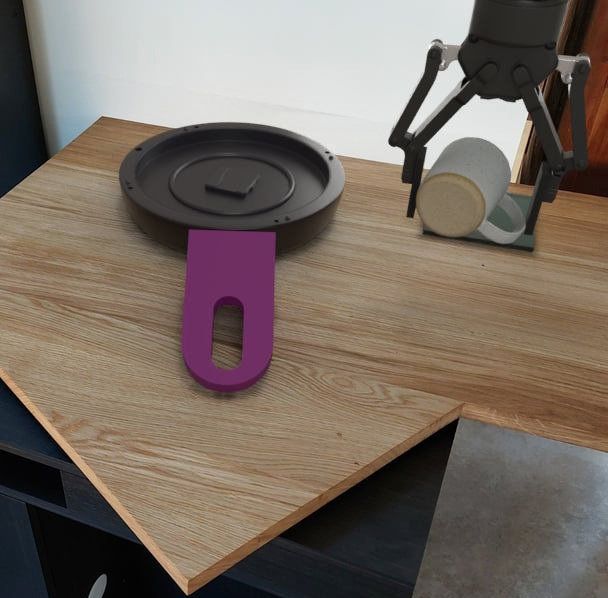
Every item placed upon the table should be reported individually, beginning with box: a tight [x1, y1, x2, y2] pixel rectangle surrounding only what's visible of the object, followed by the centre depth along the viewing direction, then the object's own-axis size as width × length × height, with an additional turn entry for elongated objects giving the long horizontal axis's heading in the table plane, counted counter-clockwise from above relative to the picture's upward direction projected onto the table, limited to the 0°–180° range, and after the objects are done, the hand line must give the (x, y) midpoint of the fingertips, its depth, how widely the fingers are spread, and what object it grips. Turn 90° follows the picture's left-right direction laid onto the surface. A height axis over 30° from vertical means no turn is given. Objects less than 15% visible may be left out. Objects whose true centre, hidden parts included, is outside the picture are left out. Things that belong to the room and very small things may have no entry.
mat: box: [422, 191, 535, 253], centre depth 106 cm, size 14×14×1 cm
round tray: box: [118, 121, 346, 256], centre depth 105 cm, size 30×6×30 cm
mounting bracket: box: [180, 230, 276, 393], centre depth 85 cm, size 9×8×18 cm
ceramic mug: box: [416, 136, 526, 244], centre depth 77 cm, size 11×8×8 cm
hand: (468, 219), depth 79 cm, fingers closed on ceramic mug, 11 cm apart
